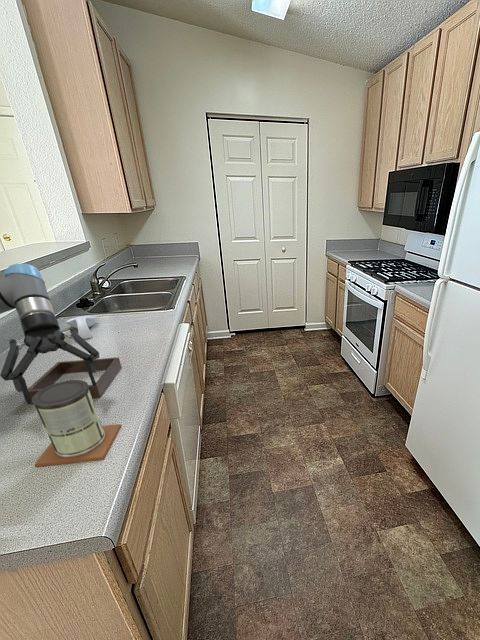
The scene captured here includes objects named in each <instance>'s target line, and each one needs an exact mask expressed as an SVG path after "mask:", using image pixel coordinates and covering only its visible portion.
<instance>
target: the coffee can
mask: <svg viewBox="0 0 480 640" xmlns="http://www.w3.org/2000/svg"><path fill="white" fill-rule="evenodd" d="M88 385H89V384H88V382H87V381H85V380H80V379H70V380H63V381H59V382H55V383H54V384H52V385H50V386H47V387H45V388H43V389H42V390H40V391H38V392H37V393H36V394H35V395H34V396H33V397H32V403H33V404H32V405H34V407H35V410H36V412H37V414H38V416H39V419H40V421H41V422H42V425H43V427H44V429H45V431H46V434H47V436H48V438H49V441H50V444H51V443H52V445H53V447H54V449H55V452H56V454H57V455H59V456H61V457H74V456H79V455H82V454H85V453H87V452H89V451H91V450H93V449H94V448H96V447H97V446H98V445H100V444H101V443H102V441H103V440H104V438H105V432H104V430H103V428H102V426H103V425H102V423H101V420H100V417H99V414H98V412H97V409H96V405H95V403H94V400H93V398H92V397H91V394H90V391H89V386H88Z"/></svg>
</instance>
